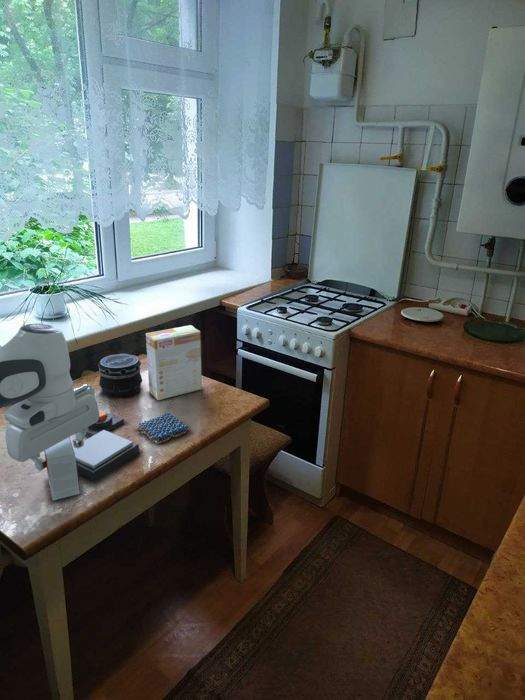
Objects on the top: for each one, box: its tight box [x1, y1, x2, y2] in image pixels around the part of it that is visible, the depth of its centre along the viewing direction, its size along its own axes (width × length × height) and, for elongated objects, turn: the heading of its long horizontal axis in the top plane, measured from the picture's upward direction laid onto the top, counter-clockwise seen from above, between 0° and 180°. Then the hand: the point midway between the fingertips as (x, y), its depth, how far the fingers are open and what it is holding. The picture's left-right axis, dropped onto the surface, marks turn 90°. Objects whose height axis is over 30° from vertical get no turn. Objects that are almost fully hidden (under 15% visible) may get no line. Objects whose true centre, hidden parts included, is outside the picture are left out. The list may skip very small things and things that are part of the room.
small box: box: [43, 436, 80, 501], centre depth 107 cm, size 8×6×10 cm
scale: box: [72, 430, 140, 483], centre depth 118 cm, size 14×12×3 cm
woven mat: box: [136, 412, 190, 444], centre depth 131 cm, size 10×11×2 cm
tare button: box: [98, 410, 107, 421], centre depth 131 cm, size 3×3×2 cm
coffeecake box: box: [145, 324, 203, 401], centre depth 150 cm, size 15×7×20 cm, turn 124°
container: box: [97, 353, 143, 399], centre depth 151 cm, size 13×13×10 cm
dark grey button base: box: [85, 411, 125, 438], centre depth 132 cm, size 10×7×3 cm
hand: (60, 457), depth 106 cm, fingers open, 8 cm apart
